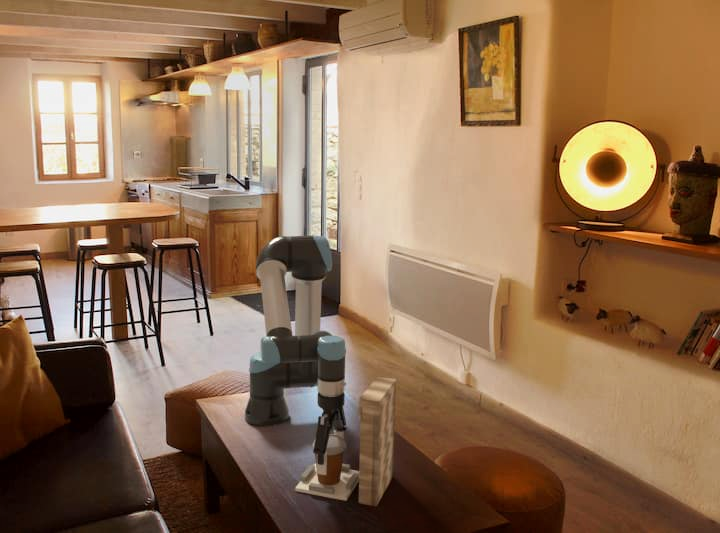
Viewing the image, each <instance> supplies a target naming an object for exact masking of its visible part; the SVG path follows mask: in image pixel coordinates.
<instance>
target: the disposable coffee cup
mask: <svg viewBox="0 0 720 533" xmlns="http://www.w3.org/2000/svg"><path fill="white" fill-rule="evenodd" d="M315 439H316V437H315ZM315 439H314V440H313V443H312V448H313V449H314V445H315ZM346 448H347V443H346V440H345V438H344V436H343V437H341V436H338V435H334V433H332V434H331V433H330V435H329V440H328V444H327V448H326V452H327V474H326V475H322V474H317V476H318V481H319V483H321V484H323V485H335V484H337V483H338V482H339V481H340V476H341V470H342V463H343V464H344V455H345V451H346ZM314 459H315V463H316V468H317V454H315V453H314Z"/></svg>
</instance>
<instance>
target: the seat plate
mask: <svg viewBox="0 0 720 533" xmlns="http://www.w3.org/2000/svg"><path fill="white" fill-rule="evenodd" d="M358 484H359V470H355V469H351V464H347V463H344V462H343V463H342V470H341V476H340V481H339V482H338V483H337V484H335V485H323V484H321V483H319V481H318V476H317V468H316V462H315V463H314V464H309V466H308V467H307V468H306V470H304V472H303V473H302V474H301V475H300V481H299V483H298V484H297V485H296V486H295V487H294V488H295V490H294V491H295V492H298V493H305V494H310V495H314V496H320V497H325V498H329V499H336V500H341V501H347V500H349V499H348V498H349V497H350V496H351V494H352V493H353V491H354V489H355V488H356V487H357V485H358Z"/></svg>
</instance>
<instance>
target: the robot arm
mask: <svg viewBox="0 0 720 533" xmlns="http://www.w3.org/2000/svg"><path fill="white" fill-rule="evenodd" d="M332 257H333V255H332V251H331V246H330V242H329V240H328V239H327V237H325V236H324V235H314V234H313V235H292V236H291V235H289V236H286V235H283V236H282V235H281V236H277V237H275V238H272V239H271V240H269V241H267V243H266V244H264V246H263V247H262V248H261V250H260V252H259V253H258V256H257V258H256V261H255V274H256V277H257V278H258V279H259V281H260V288H261V297H262V299H261V300H262V307H263V316H264V324H265V325H264V326H265V334H266V335H265V337H262V338H261V339H260V351H259V352H256V353H254V354H253V355H252V356H251V357H250V359H249V368H248V372H249V399H248V402H247V403H246V404H247V405H246V407H245V410H244V420H245V421H246V422H247V423H249V424H250V425H254V426H259V427H268V426H269V427H270V426H271V427H272V426H277V425H280V424H283V423H285V422H287V420H288V419H289V417H290V414H289V412H290V411H289V410H290V409H289V407H288V403H287V401H286V398H285V396H284V395H285V394H284V393H285V392H284V389H298V388H301V389H302V388H315V387H317V406H318V407H319V408H320V409H322V410H323V411H322V413H321V415H318V418H317V427H316V434H315V438H316V439H314V440H315V445H314V448H313V450H312V452H313V454H314V455H315V454H317V474H322V475H326V474H327V452H326V448H327V444H328V440H329V435H330V434H331V431H332V430H333V429H334V430H333V434H334V435H338V436H341V437H343V438H344V432H346V431H347V429H348V428H347V420H346V415H345V414H346V413H345V410H344V406H345V400H346V399H345V397H346V395H345V387H346V386H347V382H345V380H346V377H345V376H346V353H347V350H346V341H345V339H344V338H343V337H341V336H339V335H333V334H331V333H330V332H329V331H327V330H321V318H322V317H321V316H322V315H321V314H322V313H321V311H322V288H323V286H322V283H323V281H324V280H325V279H326V278H327V273H328V272H330V271H332V269H333V259H332ZM287 273H291V278H292V279H294V280H295V308H294V309H295V311H294V312H295V313H294V317H295V318H294V319H295V320H294V322H295V323H294V335H293V329H292V320H291V314H290V307H289V301H288V292H287V285H286V278H285V277H286V276H287Z"/></svg>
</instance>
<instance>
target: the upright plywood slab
mask: <svg viewBox="0 0 720 533" xmlns="http://www.w3.org/2000/svg"><path fill="white" fill-rule="evenodd" d="M396 388H397V379H396V378H390V377H381V376H377V377H376V378H375V379H374V380H373V381H372V383H371V384H370V385H369V386H368V387H367V389H366V390H365V391H364V392H363V393H362V394H361V396H360V397H359V398H358V421H360V422H359V424H360V425H359V426H360V427H359V430H360V431H359V465H358V471H359V482H358V503H359V504H362V505H367V506H372V507H377V506H378V504H379V503H380V500H381V499H382V497H383V496H384V493H385V492H386V490H387V488H388V486H389V485H390V482H391V481H392V478H393V476H394V448H395V443H394V442H395V425H396V424H395V423H396V422H395V420H396V419H395V418H396V415H395V414H396V394H397V393H396V392H397V391H396V390H397V389H396Z"/></svg>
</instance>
